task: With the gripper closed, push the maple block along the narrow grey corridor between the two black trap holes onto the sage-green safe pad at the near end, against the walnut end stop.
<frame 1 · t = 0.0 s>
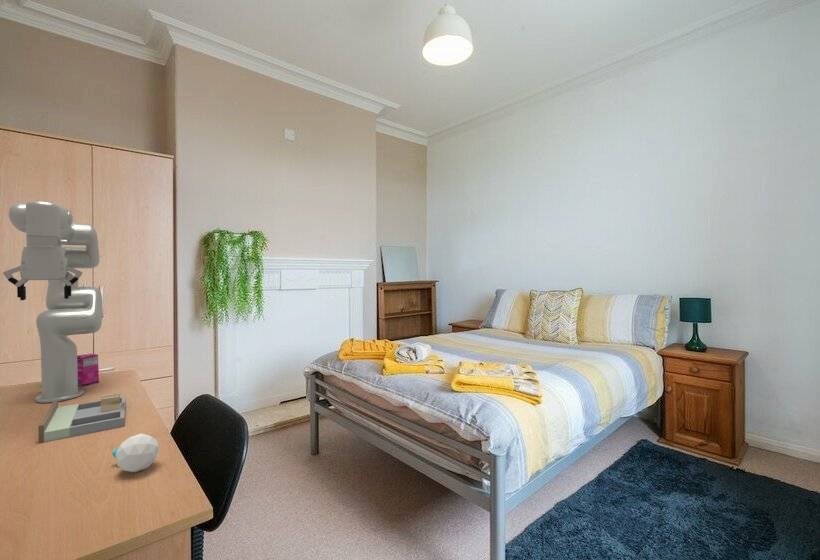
hand: (45, 299, 115), 37 cm above the table, fingers open, 9 cm apart
maple block: (110, 408, 117), point 2 cm above the table, touching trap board
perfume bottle: (132, 468, 87), on the table
supplement box: (86, 383, 151), on the table
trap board: (87, 420, 114), on the table
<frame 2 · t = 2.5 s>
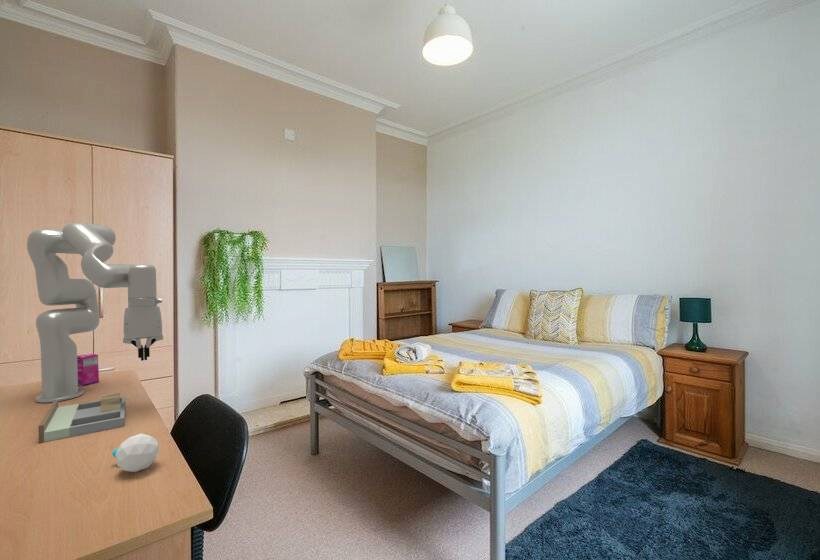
hand: (144, 359, 121), 17 cm above the table, fingers closed
nothing on the table moved.
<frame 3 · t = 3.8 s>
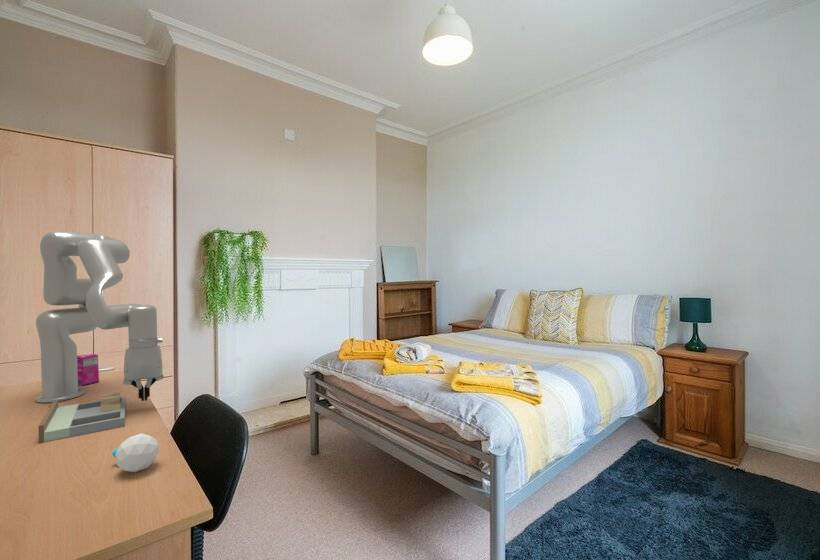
hand: (144, 399, 122), 4 cm above the table, fingers closed
nothing on the table moved.
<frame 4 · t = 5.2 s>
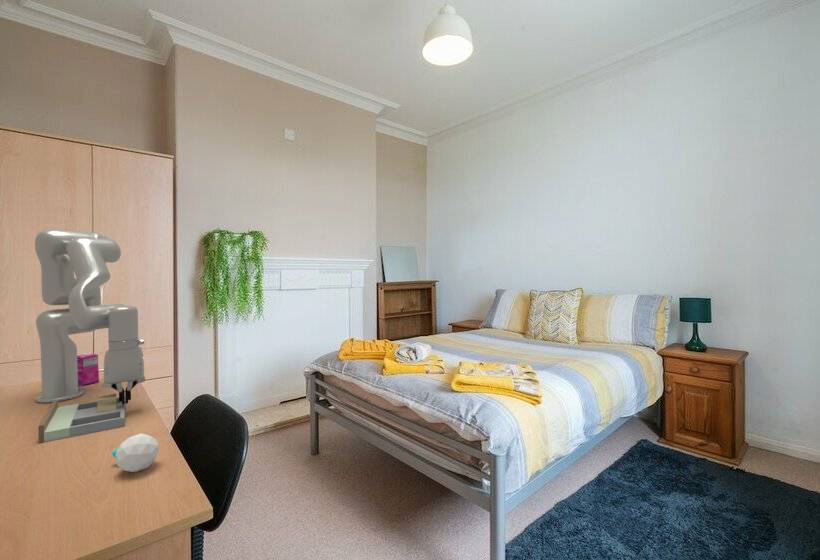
hand: (125, 402, 119), 4 cm above the table, fingers closed
maple block: (107, 409, 116), point 3 cm above the table, touching gripper, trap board
everything else where it was.
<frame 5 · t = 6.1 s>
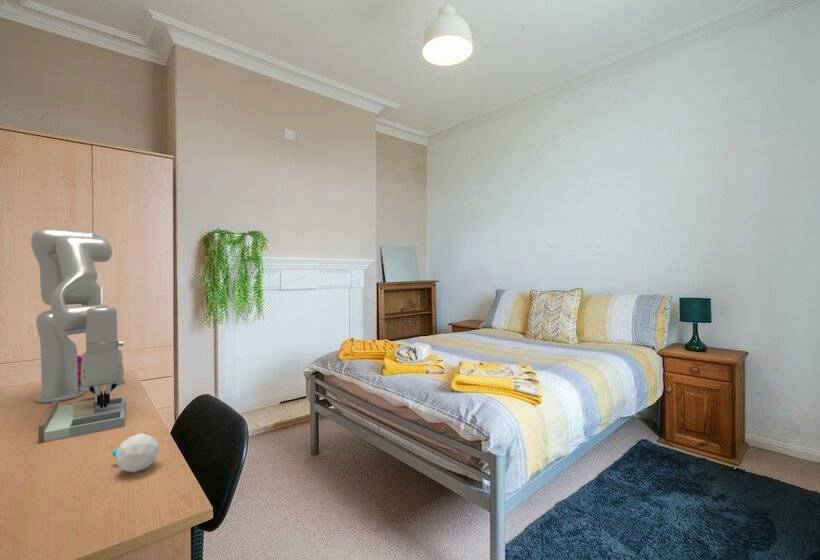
hand: (103, 406, 116), 4 cm above the table, fingers closed
maple block: (84, 413, 113), point 3 cm above the table, touching gripper, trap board
everything else where it was.
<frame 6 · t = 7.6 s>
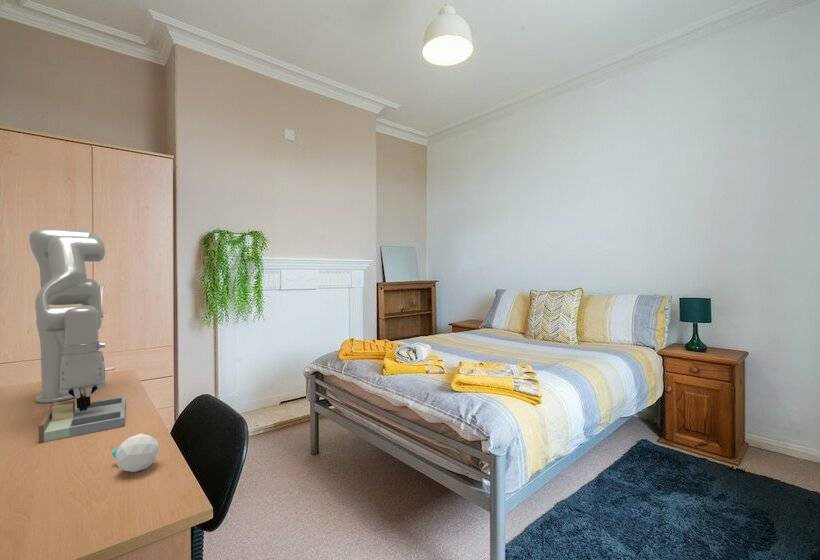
hand: (83, 409, 113), 4 cm above the table, fingers closed
maple block: (63, 417, 110), point 2 cm above the table, touching gripper, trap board
everything else where it was.
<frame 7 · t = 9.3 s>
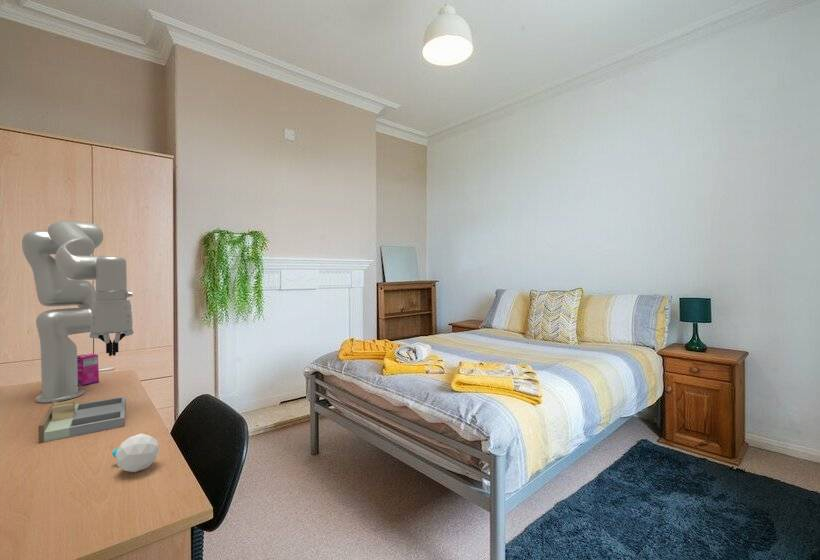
hand: (112, 354, 117), 19 cm above the table, fingers closed
maple block: (63, 417, 110), point 2 cm above the table, touching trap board
everything else where it was.
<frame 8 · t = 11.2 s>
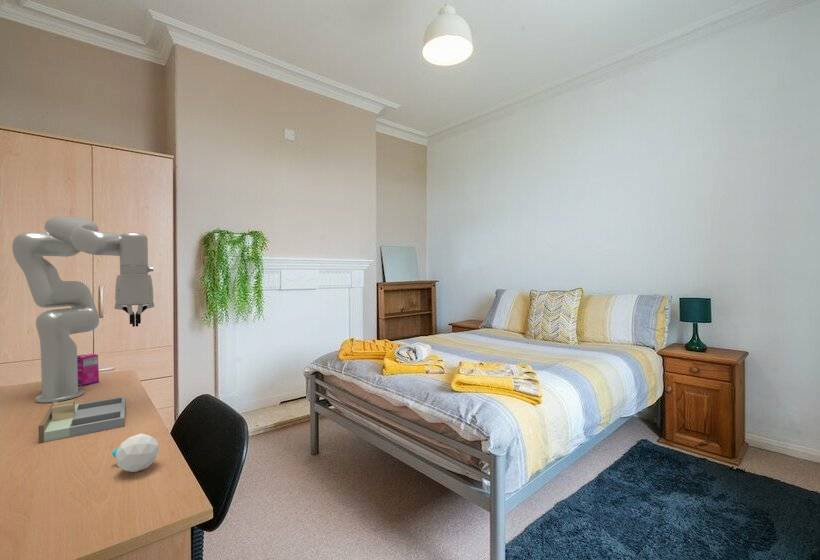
hand: (135, 326, 125), 27 cm above the table, fingers closed
nothing on the table moved.
at the end: maple block inside the target area (0.7 cm from its centre), point 2.5 cm above the table; maple block tilted 0° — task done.
